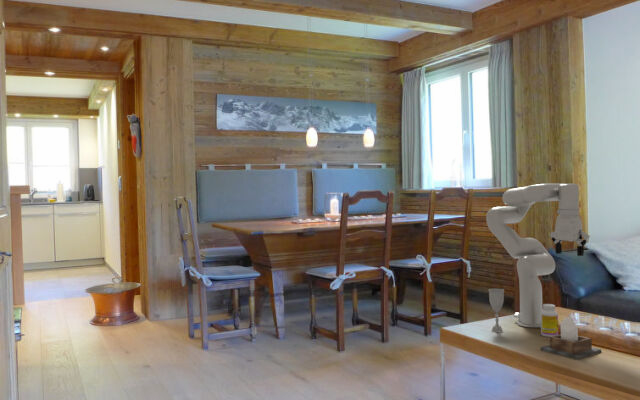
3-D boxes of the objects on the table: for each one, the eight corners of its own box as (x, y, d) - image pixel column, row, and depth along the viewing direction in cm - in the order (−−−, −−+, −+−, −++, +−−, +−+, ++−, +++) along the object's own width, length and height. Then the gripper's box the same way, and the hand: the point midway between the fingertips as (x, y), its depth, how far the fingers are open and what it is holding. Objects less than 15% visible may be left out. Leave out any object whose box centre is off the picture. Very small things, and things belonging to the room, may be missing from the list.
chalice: (495, 328, 239) (494, 287, 239) (508, 331, 234) (508, 289, 234) (485, 331, 235) (484, 290, 235) (499, 334, 229) (498, 291, 229)
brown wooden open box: (540, 349, 205) (540, 336, 205) (564, 343, 213) (563, 330, 213) (577, 359, 192) (577, 345, 192) (601, 352, 200) (600, 338, 200)
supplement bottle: (560, 337, 221) (559, 306, 221) (542, 337, 223) (542, 306, 222) (556, 333, 228) (555, 303, 228) (539, 333, 229) (539, 303, 229)
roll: (558, 317, 202) (561, 314, 207) (559, 348, 202) (562, 345, 207) (576, 318, 199) (578, 315, 204) (577, 351, 199) (579, 347, 204)
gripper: (544, 213, 228) (545, 253, 228) (583, 214, 213) (583, 257, 214) (555, 212, 232) (556, 252, 232) (594, 213, 217) (594, 255, 217)
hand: (569, 254), depth 223 cm, fingers open, 9 cm apart
